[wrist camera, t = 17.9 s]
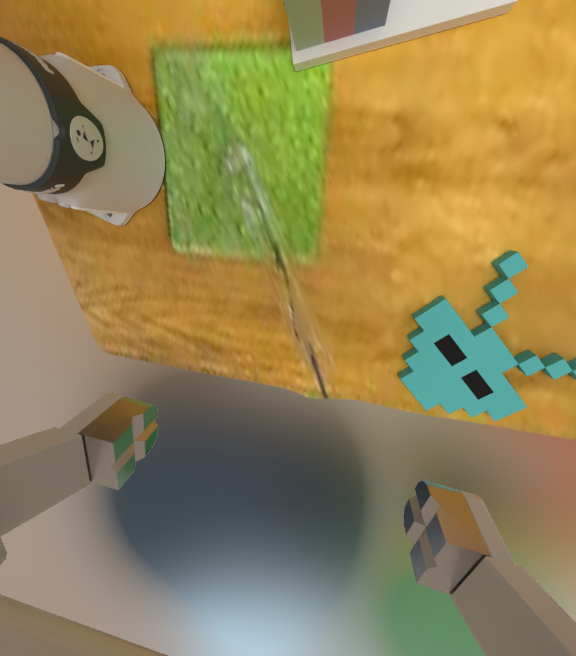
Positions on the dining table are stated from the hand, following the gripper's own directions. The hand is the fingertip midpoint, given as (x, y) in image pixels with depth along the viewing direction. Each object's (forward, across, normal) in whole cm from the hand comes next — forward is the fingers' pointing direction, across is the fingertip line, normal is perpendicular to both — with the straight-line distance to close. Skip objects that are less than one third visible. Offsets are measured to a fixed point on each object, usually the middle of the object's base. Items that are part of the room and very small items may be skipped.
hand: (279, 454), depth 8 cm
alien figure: (+32, -23, +7) cm, 41 cm away
